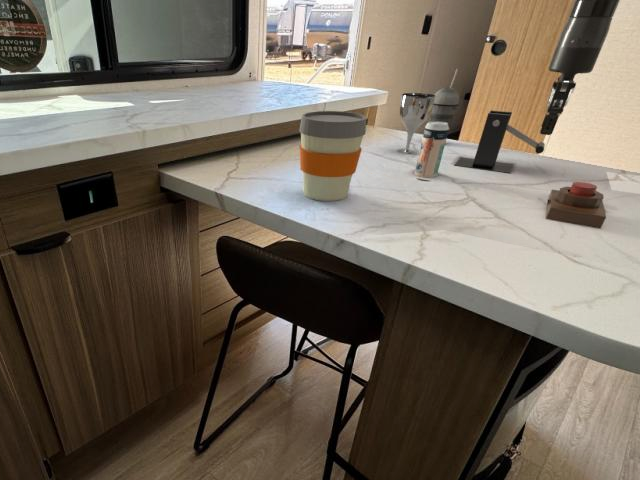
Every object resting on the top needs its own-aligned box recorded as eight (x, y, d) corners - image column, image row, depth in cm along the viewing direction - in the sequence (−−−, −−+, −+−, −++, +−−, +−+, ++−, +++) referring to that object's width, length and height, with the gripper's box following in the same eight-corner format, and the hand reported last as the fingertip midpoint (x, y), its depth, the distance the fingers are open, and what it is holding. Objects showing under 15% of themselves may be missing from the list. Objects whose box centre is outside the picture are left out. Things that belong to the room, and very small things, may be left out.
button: (568, 189, 77) (572, 180, 76) (592, 193, 76) (596, 184, 75) (568, 195, 75) (573, 185, 74) (593, 199, 73) (597, 189, 72)
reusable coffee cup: (342, 182, 92) (352, 109, 84) (365, 202, 82) (379, 121, 74) (287, 185, 91) (292, 111, 82) (305, 206, 80) (312, 123, 72)
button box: (547, 200, 83) (555, 180, 81) (596, 207, 79) (606, 187, 77) (545, 219, 75) (554, 197, 73) (600, 228, 71) (611, 206, 69)
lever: (539, 152, 96) (548, 142, 94) (538, 156, 92) (547, 147, 91) (489, 121, 98) (497, 111, 97) (486, 124, 95) (495, 114, 93)
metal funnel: (423, 161, 108) (439, 97, 99) (392, 159, 109) (404, 96, 101) (418, 153, 114) (432, 93, 106) (388, 152, 115) (399, 92, 107)
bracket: (511, 168, 102) (531, 112, 95) (508, 177, 96) (529, 118, 88) (459, 161, 107) (474, 107, 100) (452, 169, 101) (468, 113, 94)
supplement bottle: (412, 175, 97) (424, 120, 91) (433, 176, 96) (447, 121, 90) (415, 181, 93) (428, 124, 87) (437, 182, 92) (452, 125, 86)
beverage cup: (427, 143, 125) (445, 67, 114) (451, 147, 120) (472, 68, 109) (415, 147, 120) (433, 68, 109) (439, 151, 116) (460, 70, 105)
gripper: (605, 46, 76) (566, 139, 85) (600, 44, 86) (565, 127, 95) (556, 45, 79) (524, 134, 88) (557, 43, 89) (528, 124, 98)
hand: (545, 131), depth 91 cm, fingers open, 8 cm apart
